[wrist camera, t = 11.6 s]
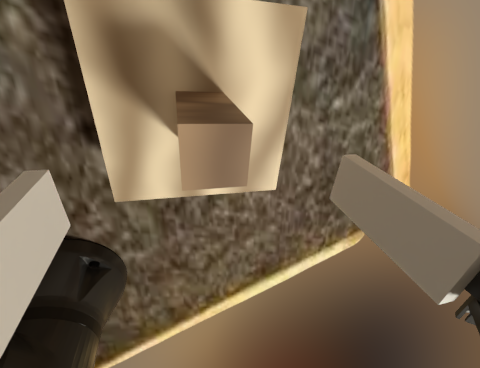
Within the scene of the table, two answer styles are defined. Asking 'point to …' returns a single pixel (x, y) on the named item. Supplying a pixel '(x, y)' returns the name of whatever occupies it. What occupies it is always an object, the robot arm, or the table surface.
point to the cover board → (188, 91)
